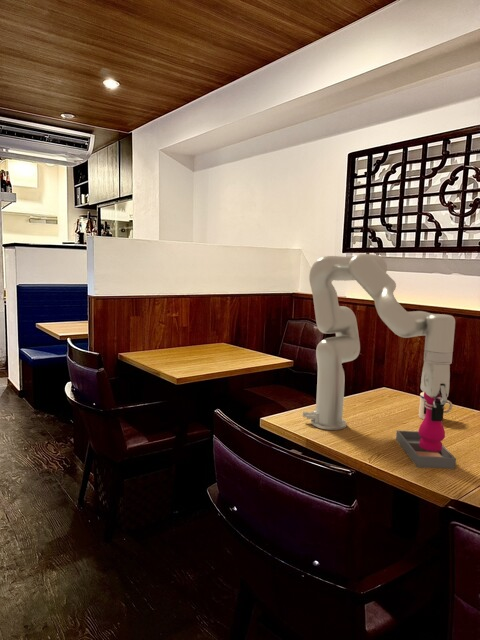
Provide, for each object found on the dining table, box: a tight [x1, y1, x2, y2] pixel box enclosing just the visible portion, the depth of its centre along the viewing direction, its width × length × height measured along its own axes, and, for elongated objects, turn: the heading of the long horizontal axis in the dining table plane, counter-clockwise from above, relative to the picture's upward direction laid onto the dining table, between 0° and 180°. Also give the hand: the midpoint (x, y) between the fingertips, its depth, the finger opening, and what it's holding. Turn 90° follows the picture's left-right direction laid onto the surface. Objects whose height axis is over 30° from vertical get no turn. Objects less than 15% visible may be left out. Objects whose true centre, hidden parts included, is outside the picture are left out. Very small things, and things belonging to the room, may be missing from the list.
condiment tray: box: [395, 429, 457, 470], centre depth 140 cm, size 11×21×3 cm, turn 177°
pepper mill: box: [418, 392, 446, 451], centre depth 134 cm, size 7×7×20 cm
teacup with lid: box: [418, 391, 453, 421], centre depth 173 cm, size 12×9×12 cm
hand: (432, 416), depth 134 cm, fingers closed on pepper mill, 5 cm apart
